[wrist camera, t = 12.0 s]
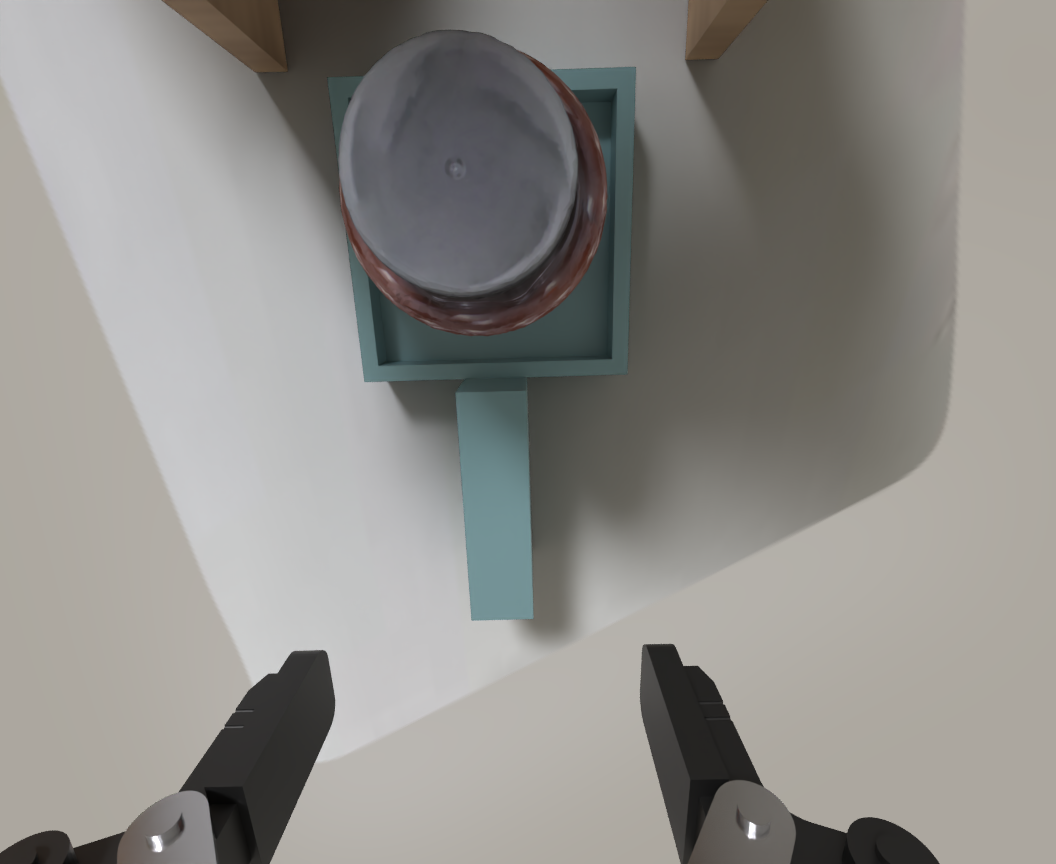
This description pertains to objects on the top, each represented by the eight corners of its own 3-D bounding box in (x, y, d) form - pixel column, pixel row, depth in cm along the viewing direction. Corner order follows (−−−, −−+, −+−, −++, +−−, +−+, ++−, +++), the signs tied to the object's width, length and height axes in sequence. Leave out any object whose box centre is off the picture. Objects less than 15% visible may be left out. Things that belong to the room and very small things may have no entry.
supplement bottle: (406, 298, 19) (253, 312, 9) (430, 132, 18) (279, -112, 7) (554, 331, 20) (585, 384, 9) (591, 171, 18) (685, -3, 7)
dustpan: (351, 103, 19) (290, 38, 14) (622, 94, 19) (655, 26, 14) (402, 556, 24) (371, 622, 19) (612, 550, 24) (634, 616, 19)
